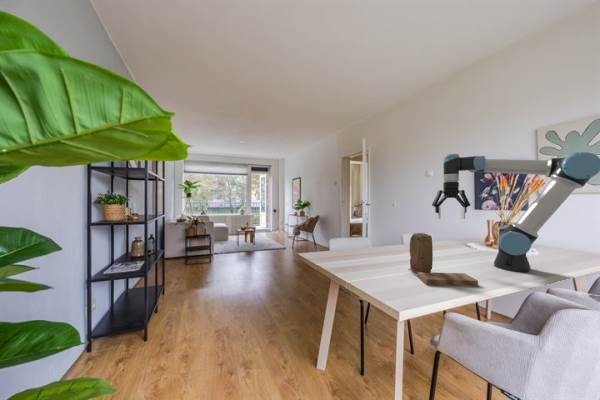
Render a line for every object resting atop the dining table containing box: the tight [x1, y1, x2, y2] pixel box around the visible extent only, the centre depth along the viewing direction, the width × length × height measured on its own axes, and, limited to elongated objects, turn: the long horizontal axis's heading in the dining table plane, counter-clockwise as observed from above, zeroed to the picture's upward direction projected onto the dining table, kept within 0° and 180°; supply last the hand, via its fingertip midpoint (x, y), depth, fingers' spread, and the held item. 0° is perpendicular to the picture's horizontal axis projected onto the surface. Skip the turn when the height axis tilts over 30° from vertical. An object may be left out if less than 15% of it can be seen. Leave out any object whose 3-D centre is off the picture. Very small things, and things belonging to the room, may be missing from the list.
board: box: [417, 272, 479, 287], centre depth 113 cm, size 22×10×3 cm, turn 86°
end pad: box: [407, 268, 418, 278], centre depth 125 cm, size 9×12×1 cm
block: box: [409, 232, 434, 273], centre depth 125 cm, size 11×8×20 cm
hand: (450, 218), depth 140 cm, fingers open, 13 cm apart
